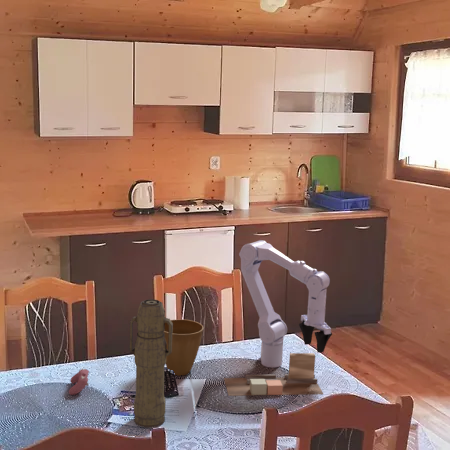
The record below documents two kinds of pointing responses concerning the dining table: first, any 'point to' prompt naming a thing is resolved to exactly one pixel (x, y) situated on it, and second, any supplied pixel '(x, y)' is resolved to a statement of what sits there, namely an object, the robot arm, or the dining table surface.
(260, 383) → the offcut sage
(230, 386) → the walnut rack
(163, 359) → the thermos
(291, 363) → the birch sheet
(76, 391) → the red curved piece
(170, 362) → the plant pot
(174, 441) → the dining table surface
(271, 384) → the offcut terracotta
